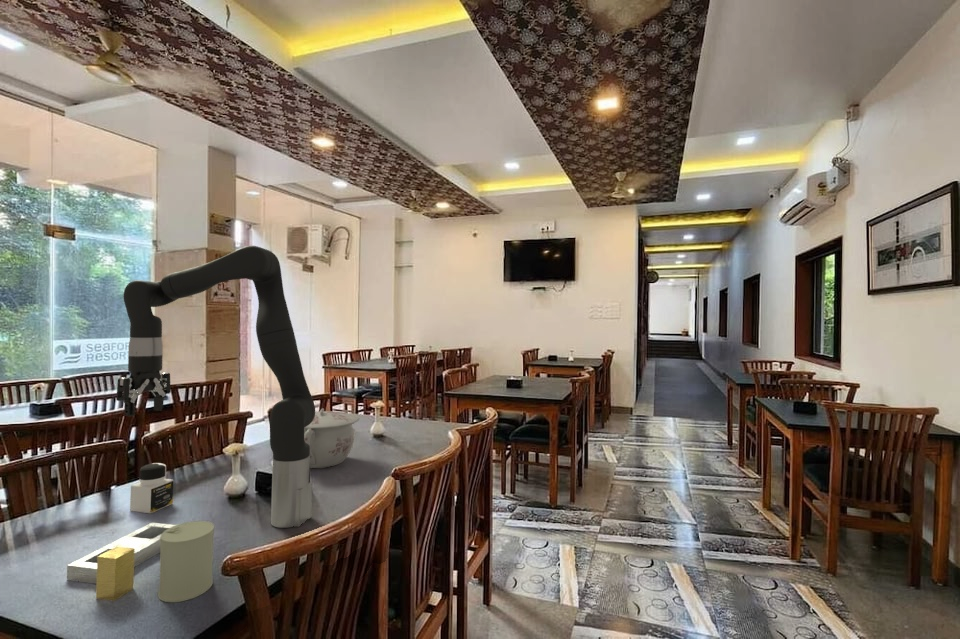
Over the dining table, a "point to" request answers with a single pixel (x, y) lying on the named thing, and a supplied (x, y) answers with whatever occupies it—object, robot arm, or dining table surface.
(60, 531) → the dining table surface
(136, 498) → the medicine bottle
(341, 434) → the chamber pot
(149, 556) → the rail
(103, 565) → the yellow block
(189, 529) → the can
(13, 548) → the dining table surface
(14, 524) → the dining table surface
